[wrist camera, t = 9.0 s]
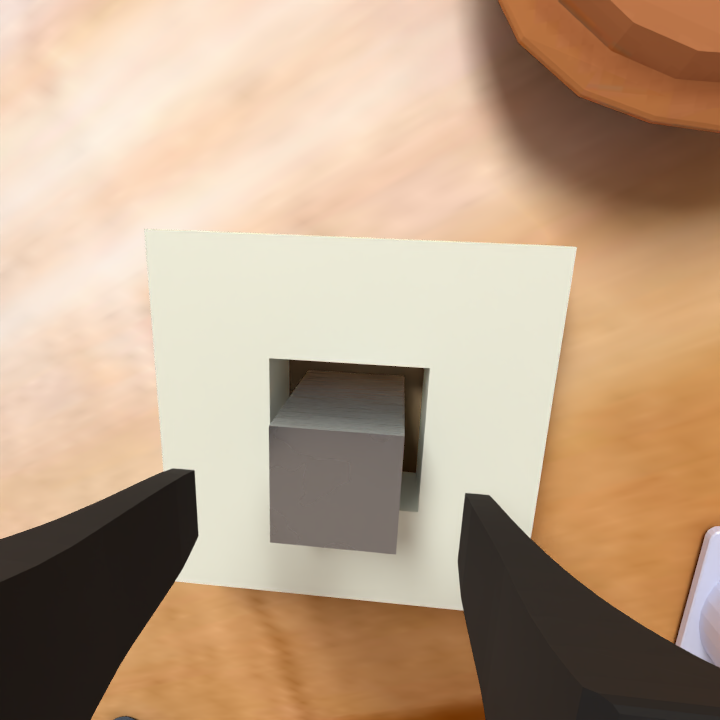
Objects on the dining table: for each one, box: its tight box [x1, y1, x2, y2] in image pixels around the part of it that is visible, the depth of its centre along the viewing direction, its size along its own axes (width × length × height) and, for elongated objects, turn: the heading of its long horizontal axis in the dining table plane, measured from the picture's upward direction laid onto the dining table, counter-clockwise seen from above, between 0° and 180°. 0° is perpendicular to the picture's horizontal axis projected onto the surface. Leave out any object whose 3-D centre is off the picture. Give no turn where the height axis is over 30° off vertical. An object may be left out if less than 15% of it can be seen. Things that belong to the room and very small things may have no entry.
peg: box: [269, 370, 405, 554], centre depth 17 cm, size 4×4×6 cm
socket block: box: [144, 229, 577, 611], centre depth 18 cm, size 14×14×3 cm
